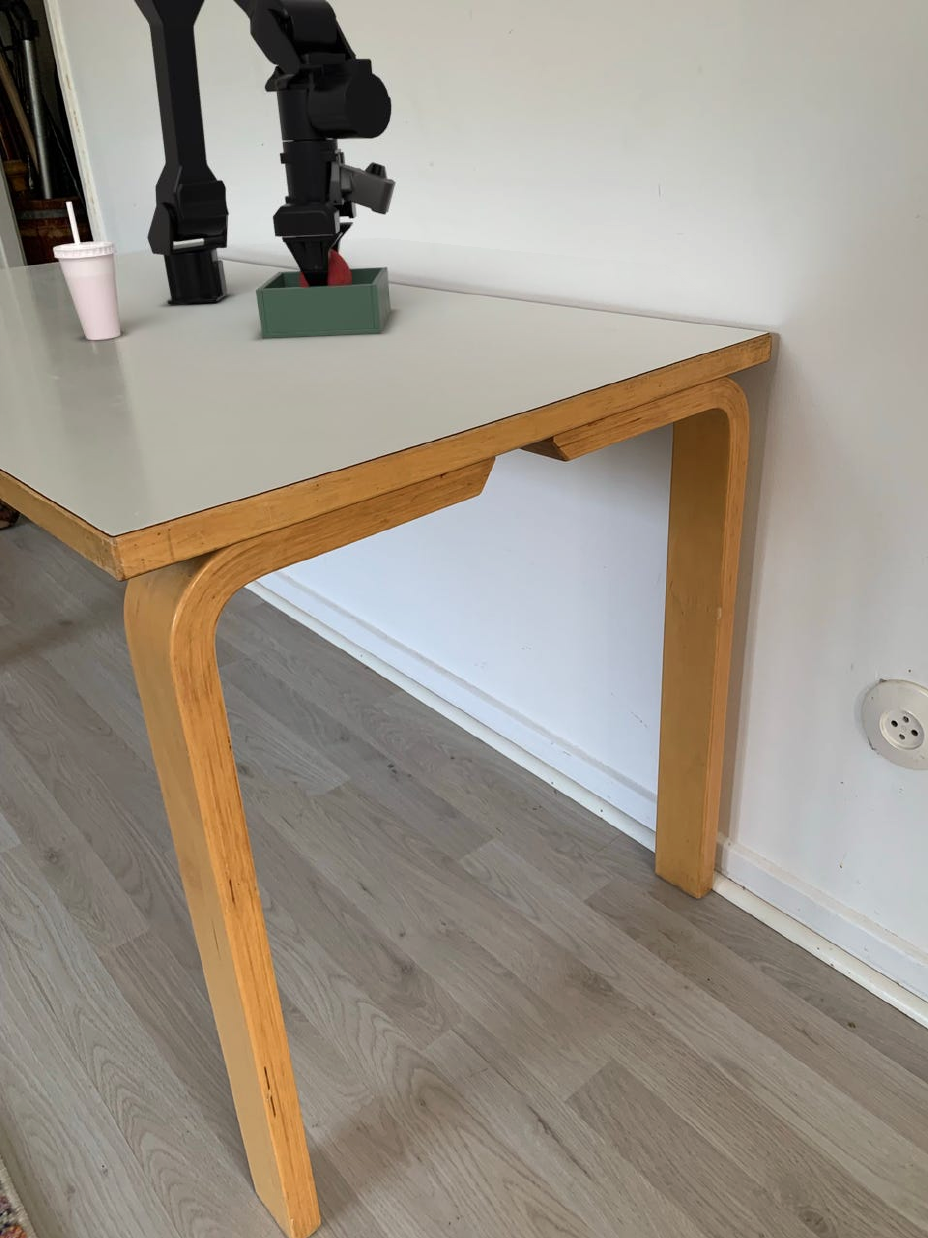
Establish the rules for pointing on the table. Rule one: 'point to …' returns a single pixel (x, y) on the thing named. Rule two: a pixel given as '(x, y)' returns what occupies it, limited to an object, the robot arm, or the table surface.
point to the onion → (334, 272)
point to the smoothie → (91, 283)
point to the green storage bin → (324, 305)
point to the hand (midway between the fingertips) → (326, 295)
